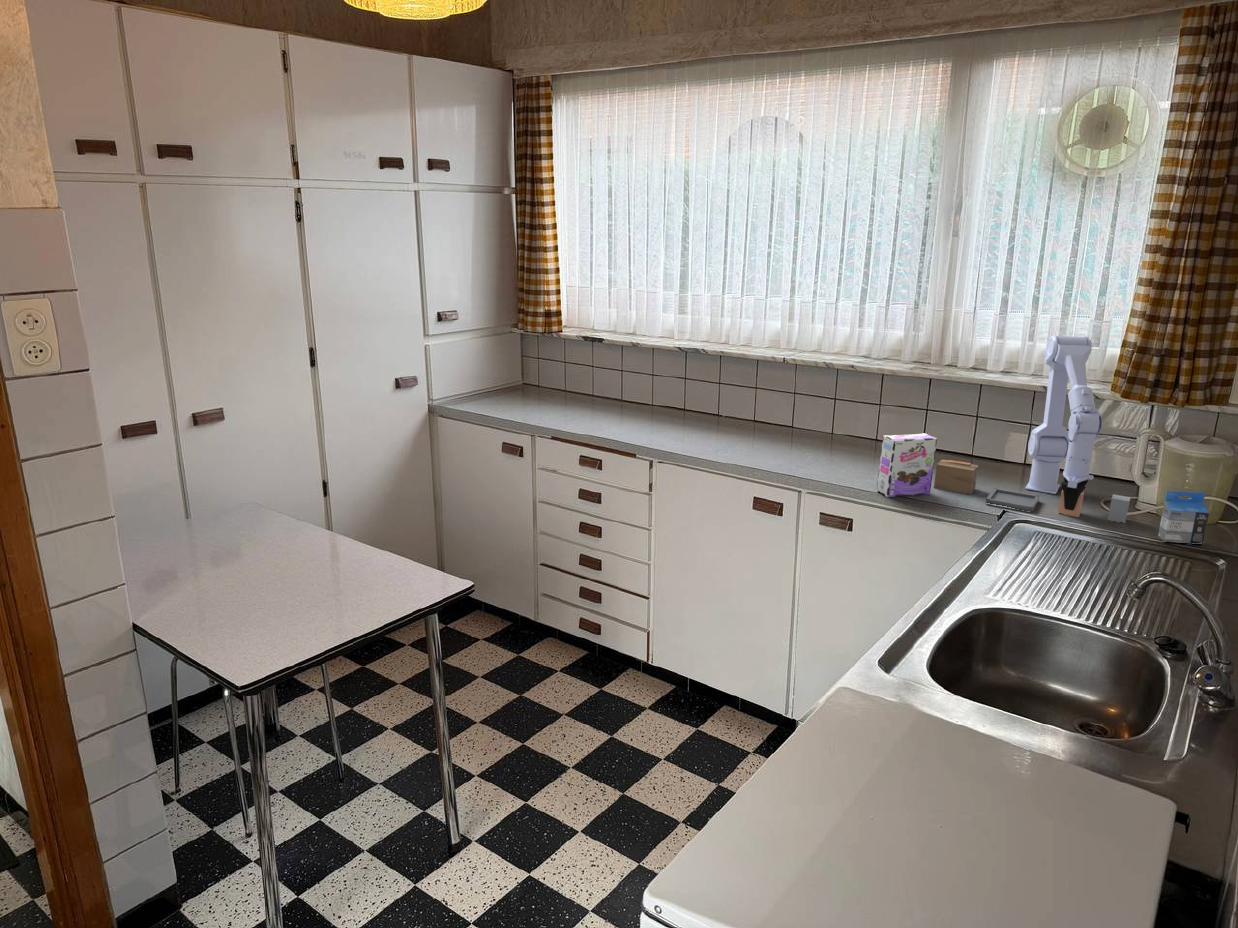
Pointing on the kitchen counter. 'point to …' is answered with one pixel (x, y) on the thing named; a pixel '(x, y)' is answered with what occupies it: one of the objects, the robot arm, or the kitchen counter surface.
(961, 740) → the kitchen counter surface
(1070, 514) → the terracotta block
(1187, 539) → the label tape box
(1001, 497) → the charcoal tray
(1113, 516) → the slate grey block
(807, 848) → the kitchen counter surface
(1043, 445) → the robot arm
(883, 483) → the candy box
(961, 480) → the box
